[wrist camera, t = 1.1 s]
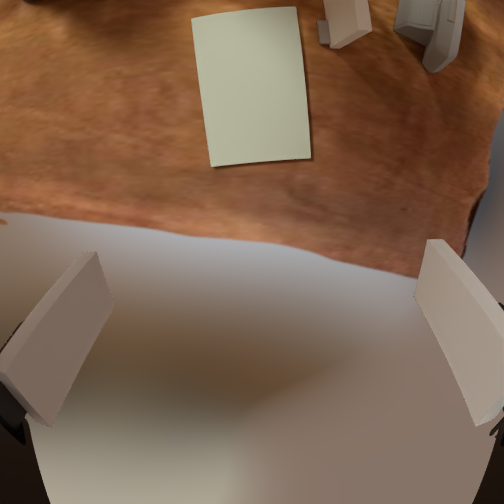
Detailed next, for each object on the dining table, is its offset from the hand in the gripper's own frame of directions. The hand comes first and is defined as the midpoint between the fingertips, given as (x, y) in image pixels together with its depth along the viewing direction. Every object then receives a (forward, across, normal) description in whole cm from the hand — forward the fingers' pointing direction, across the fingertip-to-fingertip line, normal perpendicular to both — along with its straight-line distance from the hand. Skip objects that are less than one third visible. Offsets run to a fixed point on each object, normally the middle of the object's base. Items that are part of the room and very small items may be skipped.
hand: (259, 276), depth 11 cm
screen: (+27, +9, +18) cm, 34 cm away
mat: (+27, -1, +8) cm, 28 cm away
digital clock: (+28, +22, +18) cm, 40 cm away
